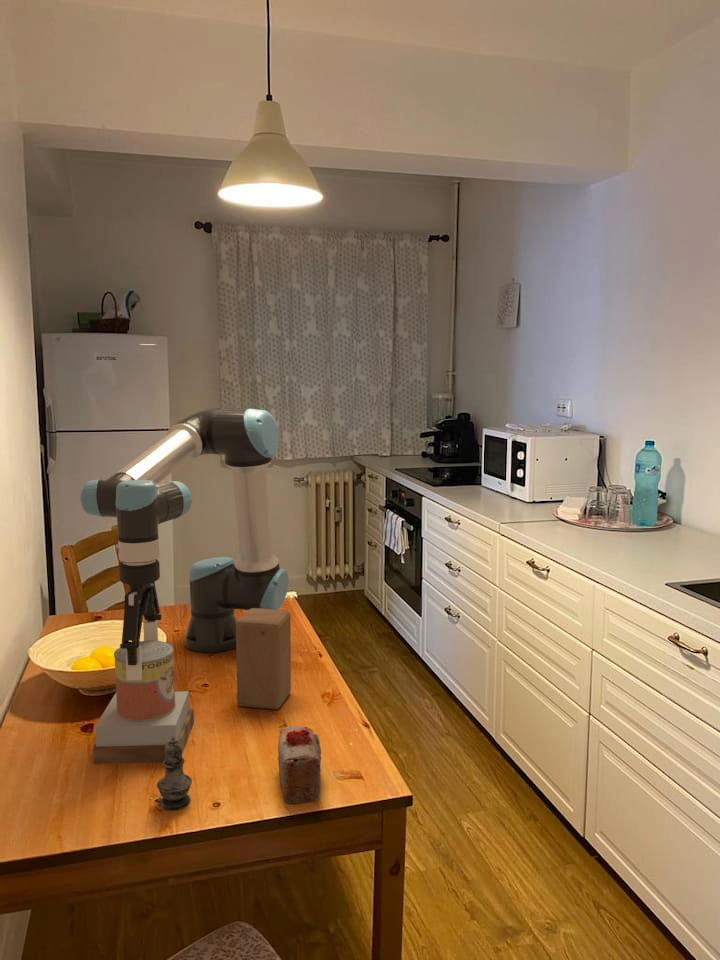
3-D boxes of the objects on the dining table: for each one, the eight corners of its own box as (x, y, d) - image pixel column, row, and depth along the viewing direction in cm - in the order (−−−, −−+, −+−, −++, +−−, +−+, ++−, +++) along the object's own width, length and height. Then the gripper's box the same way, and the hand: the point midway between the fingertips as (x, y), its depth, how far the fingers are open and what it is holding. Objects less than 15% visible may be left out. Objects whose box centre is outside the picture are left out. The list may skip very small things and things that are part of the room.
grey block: (116, 710, 156) (115, 692, 156) (189, 709, 157) (188, 691, 156) (95, 746, 141) (94, 726, 141) (176, 744, 142) (175, 725, 142)
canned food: (158, 724, 142) (156, 664, 140) (105, 718, 144) (102, 659, 142) (185, 699, 153) (183, 643, 151) (135, 693, 155) (132, 638, 153)
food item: (275, 765, 141) (274, 716, 140) (317, 761, 143) (316, 713, 142) (281, 806, 128) (281, 752, 127) (327, 801, 130) (327, 748, 128)
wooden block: (279, 711, 163) (278, 623, 161) (235, 707, 165) (234, 620, 162) (292, 692, 173) (291, 609, 170) (251, 688, 175) (249, 606, 172)
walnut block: (117, 727, 157) (116, 709, 157) (194, 726, 158) (193, 708, 158) (93, 767, 142) (93, 747, 141) (179, 765, 142) (178, 746, 142)
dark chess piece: (160, 814, 125) (158, 747, 124) (155, 796, 131) (152, 732, 129) (195, 806, 128) (193, 741, 126) (188, 789, 133) (186, 725, 131)
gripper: (136, 545, 156) (140, 642, 159) (99, 578, 132) (105, 692, 135) (172, 545, 157) (175, 642, 160) (142, 578, 132) (147, 692, 135)
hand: (143, 665), depth 147 cm, fingers open, 13 cm apart
